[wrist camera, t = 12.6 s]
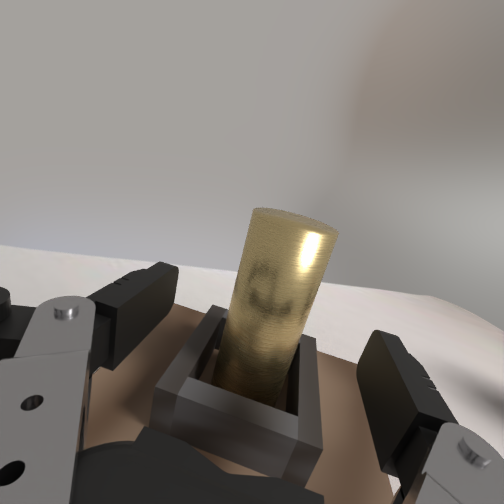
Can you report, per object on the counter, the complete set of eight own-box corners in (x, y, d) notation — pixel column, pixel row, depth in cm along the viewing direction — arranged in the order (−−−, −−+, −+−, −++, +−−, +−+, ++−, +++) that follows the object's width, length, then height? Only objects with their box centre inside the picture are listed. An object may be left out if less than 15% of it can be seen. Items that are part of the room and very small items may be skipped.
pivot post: (198, 411, 15) (244, 215, 11) (221, 360, 19) (261, 204, 15) (269, 439, 15) (344, 243, 11) (278, 380, 19) (333, 224, 15)
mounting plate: (16, 463, 12) (9, 399, 10) (168, 310, 25) (174, 274, 24) (417, 639, 10) (471, 588, 8) (352, 372, 23) (370, 336, 22)
